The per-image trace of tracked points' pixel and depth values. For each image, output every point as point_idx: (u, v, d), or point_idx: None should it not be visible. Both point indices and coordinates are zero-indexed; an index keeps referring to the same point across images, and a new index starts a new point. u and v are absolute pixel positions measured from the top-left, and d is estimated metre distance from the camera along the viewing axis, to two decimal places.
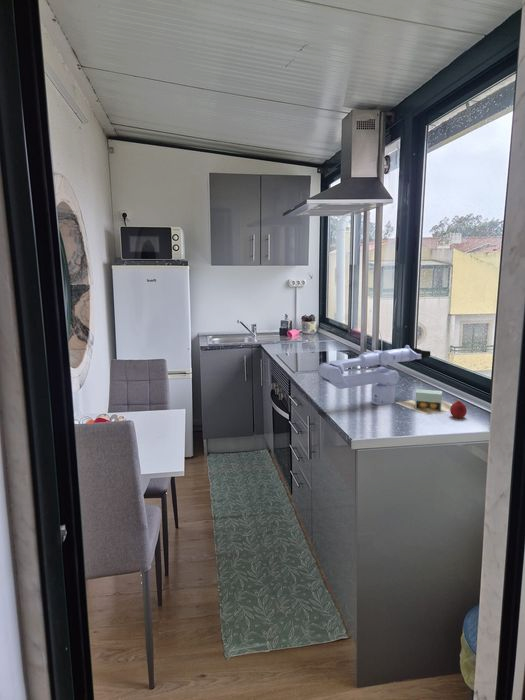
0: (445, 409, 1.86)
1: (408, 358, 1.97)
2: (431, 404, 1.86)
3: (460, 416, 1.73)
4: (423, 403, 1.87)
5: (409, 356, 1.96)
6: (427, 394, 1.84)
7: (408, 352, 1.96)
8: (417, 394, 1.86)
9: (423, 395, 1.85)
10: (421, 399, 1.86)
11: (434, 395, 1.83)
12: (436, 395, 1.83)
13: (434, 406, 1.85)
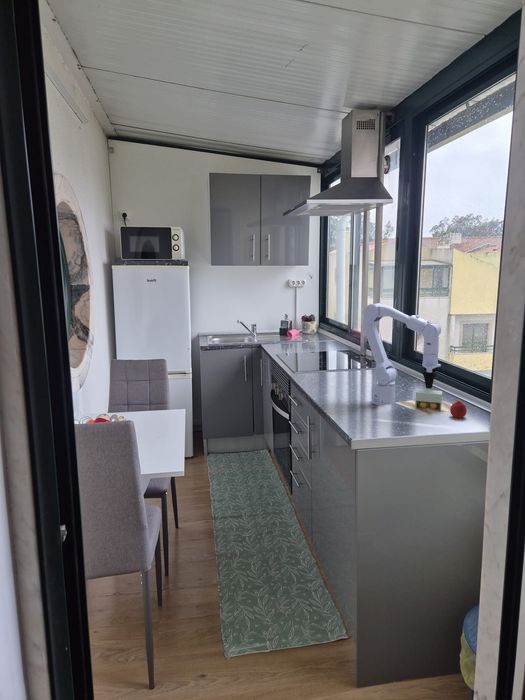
0: (445, 409, 1.86)
1: (426, 362, 1.83)
2: (431, 404, 1.86)
3: (460, 416, 1.73)
4: (423, 403, 1.87)
5: (428, 363, 1.82)
6: (427, 394, 1.84)
7: (433, 362, 1.82)
8: (417, 394, 1.86)
9: (423, 395, 1.85)
10: (421, 399, 1.86)
11: (434, 395, 1.83)
12: (436, 395, 1.83)
13: (434, 406, 1.85)
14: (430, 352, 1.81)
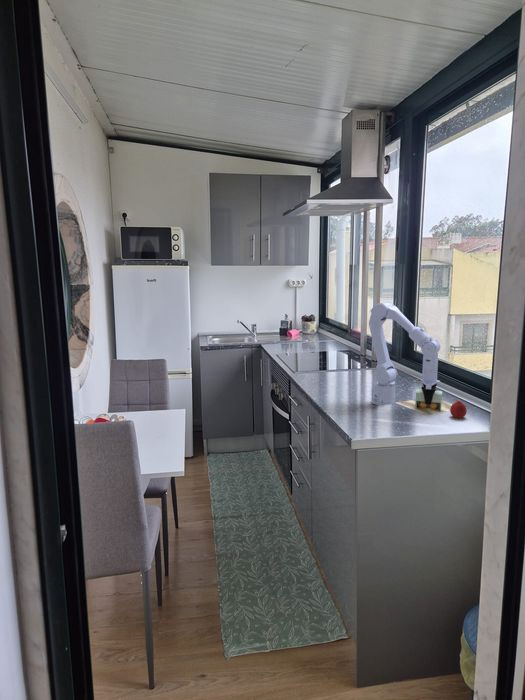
0: (445, 409, 1.86)
1: (425, 379, 1.84)
2: (431, 404, 1.86)
3: (460, 416, 1.73)
4: (423, 403, 1.87)
5: (428, 380, 1.83)
6: None
7: (432, 379, 1.83)
8: (417, 394, 1.86)
9: (423, 395, 1.85)
10: (421, 399, 1.86)
11: (434, 395, 1.83)
12: (436, 395, 1.83)
13: (434, 406, 1.85)
14: (429, 369, 1.82)
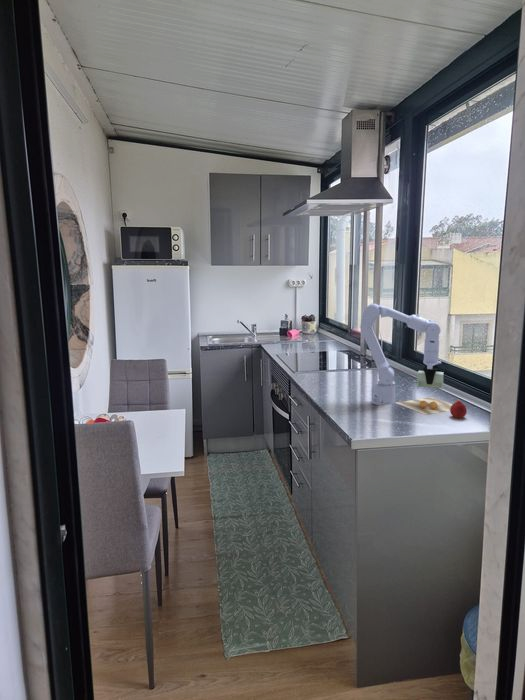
0: (445, 409, 1.86)
1: (427, 359, 1.89)
2: (431, 404, 1.86)
3: (460, 416, 1.73)
4: (423, 403, 1.87)
5: (429, 360, 1.88)
6: None
7: (434, 360, 1.88)
8: (419, 375, 1.91)
9: None
10: (423, 379, 1.90)
11: (435, 375, 1.88)
12: (438, 375, 1.88)
13: (434, 406, 1.85)
14: (433, 349, 1.87)
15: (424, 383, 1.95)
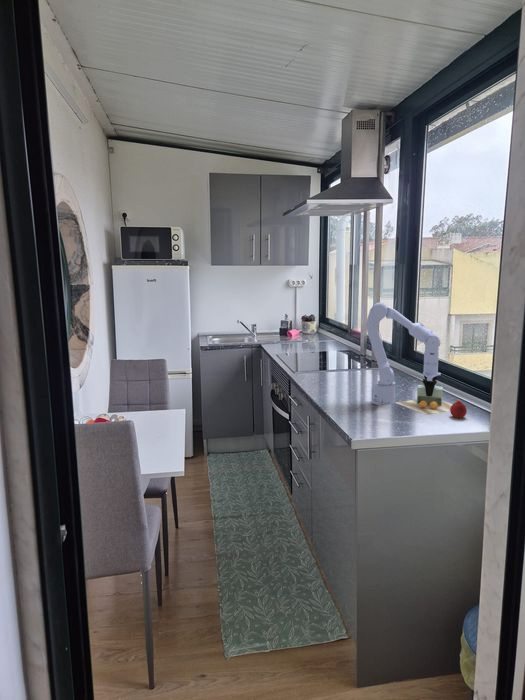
0: (445, 409, 1.86)
1: (427, 371, 1.91)
2: (431, 404, 1.86)
3: (460, 416, 1.73)
4: (423, 403, 1.87)
5: (429, 372, 1.90)
6: None
7: (433, 371, 1.90)
8: (419, 389, 1.93)
9: (424, 390, 1.92)
10: (422, 394, 1.93)
11: (435, 390, 1.90)
12: (437, 390, 1.90)
13: (434, 406, 1.85)
14: (433, 361, 1.89)
15: (423, 397, 1.98)
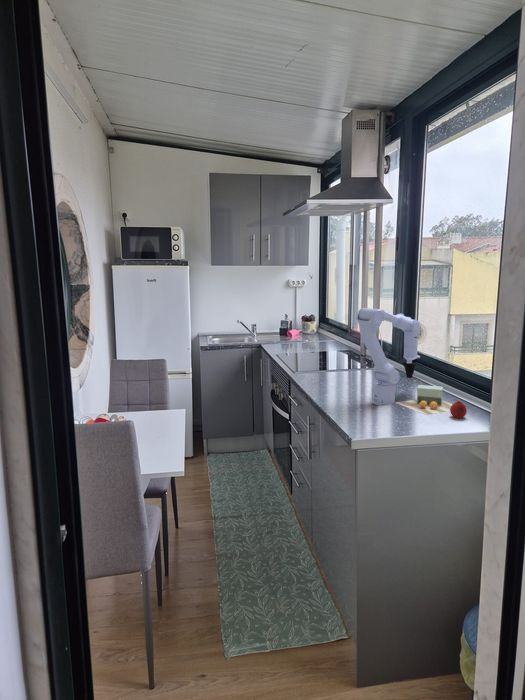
0: (445, 409, 1.86)
1: (407, 354, 2.01)
2: (431, 404, 1.86)
3: (460, 416, 1.73)
4: (423, 403, 1.87)
5: (409, 355, 2.01)
6: (428, 389, 1.91)
7: (413, 354, 2.00)
8: (419, 389, 1.93)
9: (424, 390, 1.92)
10: (422, 394, 1.92)
11: (435, 390, 1.90)
12: (437, 391, 1.90)
13: (434, 406, 1.85)
14: (416, 344, 2.00)
15: (423, 397, 1.98)
